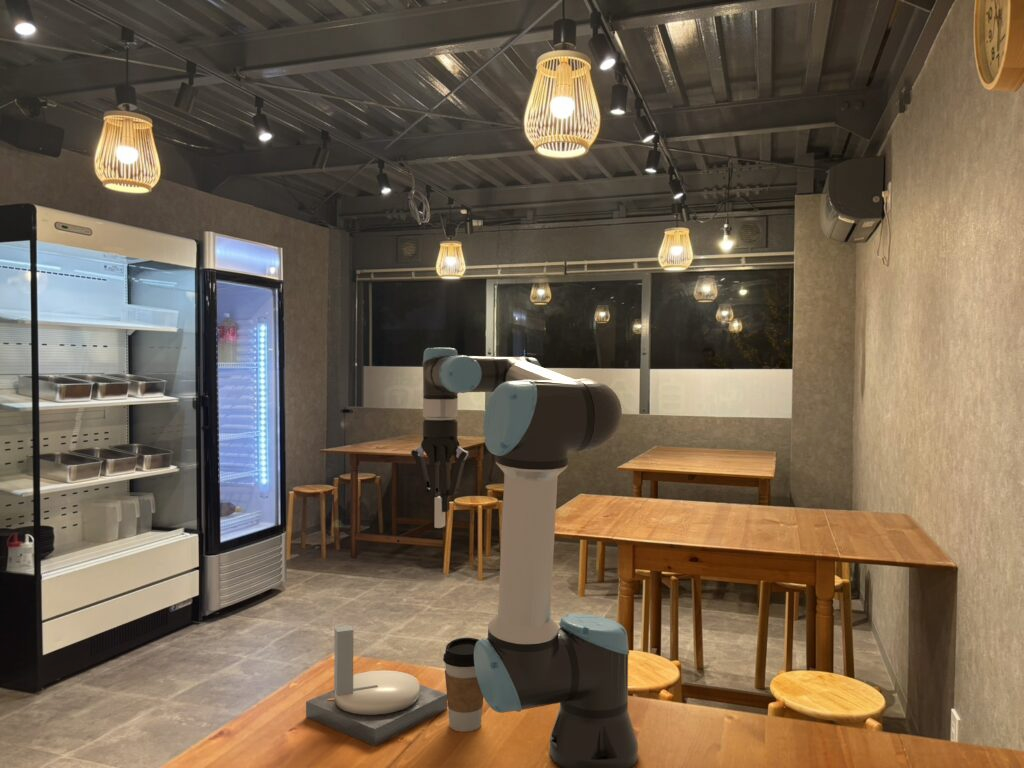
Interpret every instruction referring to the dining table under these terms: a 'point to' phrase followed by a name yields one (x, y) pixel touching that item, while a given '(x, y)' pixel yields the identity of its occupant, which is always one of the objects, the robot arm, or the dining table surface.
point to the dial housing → (376, 716)
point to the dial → (368, 682)
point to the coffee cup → (462, 685)
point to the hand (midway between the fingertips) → (439, 526)
